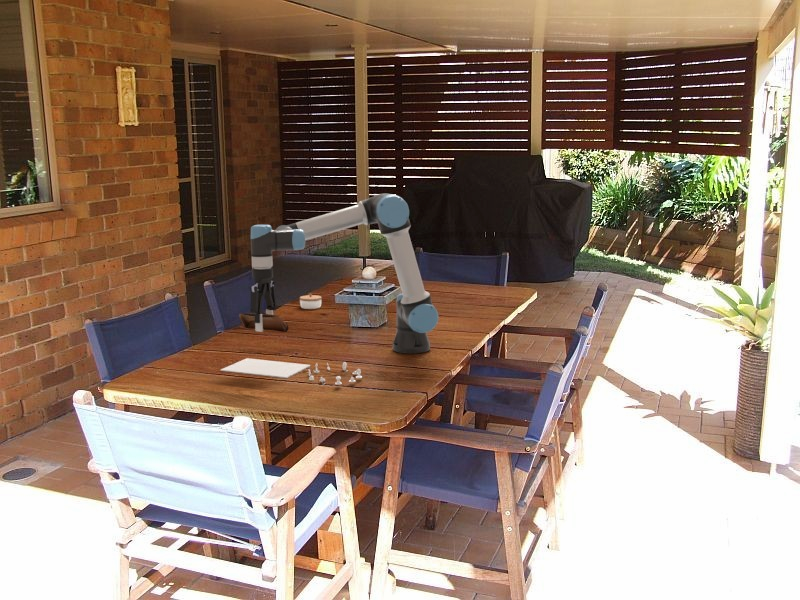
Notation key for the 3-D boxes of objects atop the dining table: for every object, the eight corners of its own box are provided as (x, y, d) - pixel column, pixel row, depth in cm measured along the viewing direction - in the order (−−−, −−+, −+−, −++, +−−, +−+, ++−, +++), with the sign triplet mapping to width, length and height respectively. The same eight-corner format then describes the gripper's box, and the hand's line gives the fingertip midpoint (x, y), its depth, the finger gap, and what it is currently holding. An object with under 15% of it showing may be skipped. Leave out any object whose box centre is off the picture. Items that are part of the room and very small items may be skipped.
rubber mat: (310, 365, 316) (310, 364, 316) (286, 378, 299) (286, 377, 299) (246, 359, 326) (246, 358, 326) (220, 370, 310) (220, 369, 310)
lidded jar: (326, 311, 417) (325, 293, 415) (312, 315, 408) (312, 296, 406) (309, 309, 423) (308, 291, 421) (295, 313, 414) (295, 294, 412)
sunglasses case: (237, 312, 309) (248, 308, 315) (238, 330, 311) (248, 327, 317) (279, 315, 302) (289, 312, 308) (280, 334, 303) (290, 331, 309)
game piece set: (332, 367, 316) (332, 357, 315) (372, 376, 303) (372, 365, 303) (294, 378, 301) (294, 367, 300) (335, 388, 288) (335, 377, 288)
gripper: (268, 263, 316) (270, 323, 320) (238, 270, 298) (240, 334, 303) (285, 264, 313) (287, 324, 317) (255, 271, 295) (258, 335, 300)
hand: (264, 329), depth 310 cm, fingers closed on sunglasses case, 7 cm apart
